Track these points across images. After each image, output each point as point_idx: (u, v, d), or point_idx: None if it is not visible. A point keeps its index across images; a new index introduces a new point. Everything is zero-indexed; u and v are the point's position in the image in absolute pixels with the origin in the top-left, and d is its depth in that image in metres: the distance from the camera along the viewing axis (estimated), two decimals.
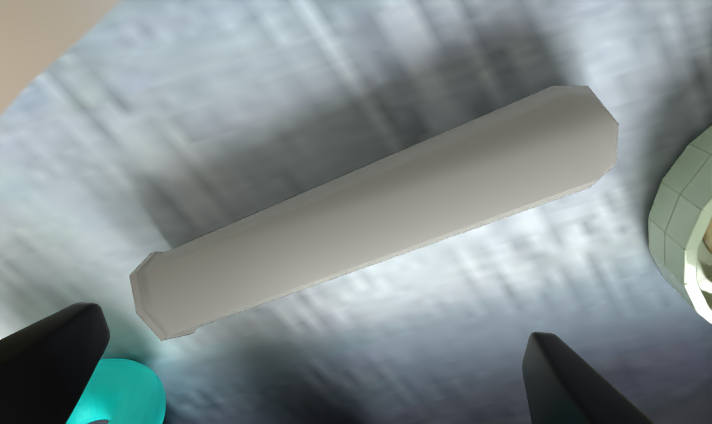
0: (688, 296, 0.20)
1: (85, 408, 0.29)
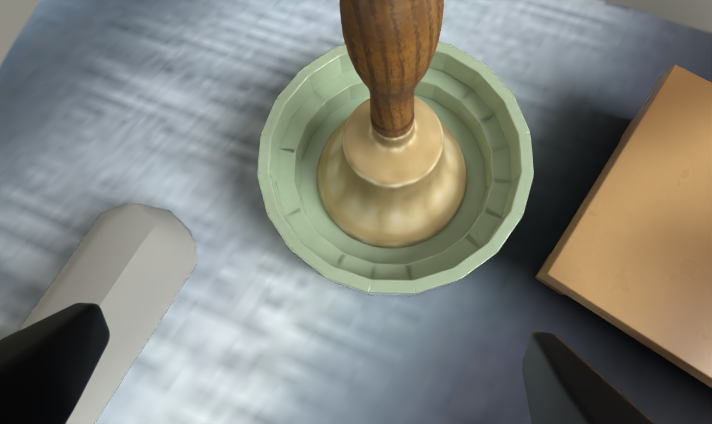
0: (344, 283, 0.19)
1: None
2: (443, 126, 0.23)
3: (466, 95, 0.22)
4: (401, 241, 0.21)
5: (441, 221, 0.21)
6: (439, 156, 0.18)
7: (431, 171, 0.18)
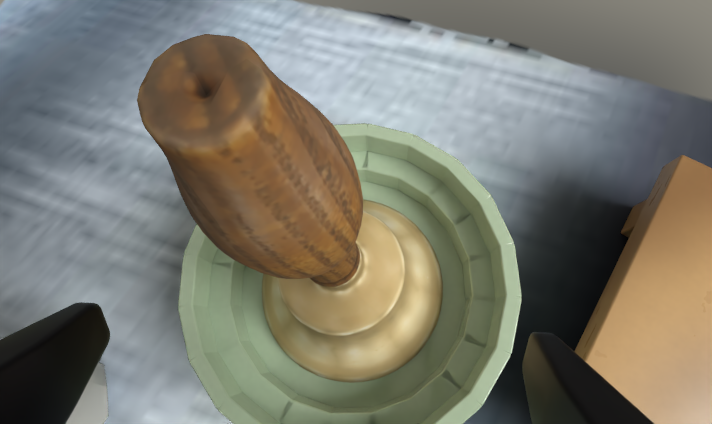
0: None
1: None
2: (411, 226, 0.19)
3: (436, 189, 0.19)
4: (365, 376, 0.17)
5: (412, 348, 0.17)
6: (400, 291, 0.14)
7: (390, 311, 0.14)
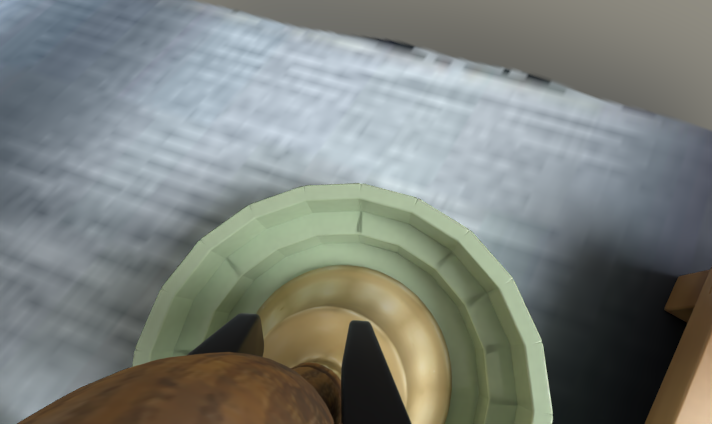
0: None
1: None
2: (413, 302, 0.16)
3: (444, 261, 0.15)
4: None
5: None
6: None
7: None
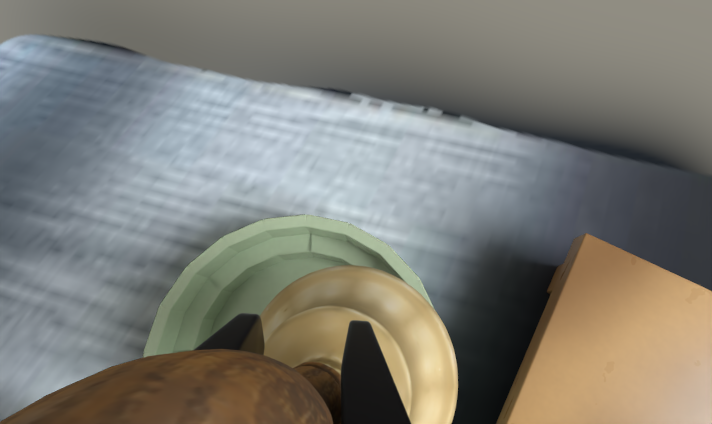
0: None
1: None
2: (417, 300, 0.16)
3: None
4: None
5: None
6: None
7: None
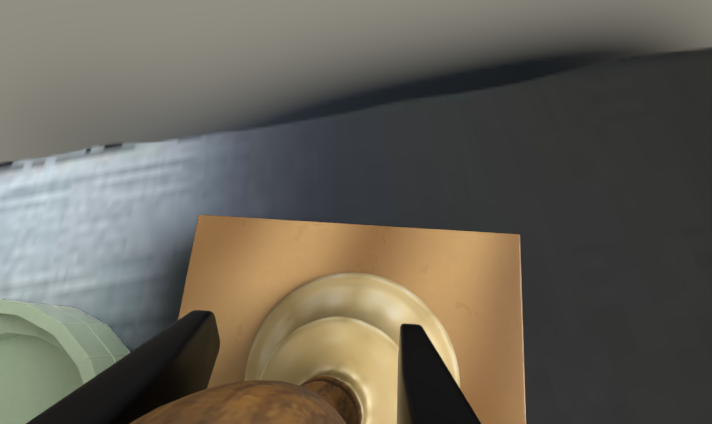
0: None
1: None
2: (419, 307, 0.16)
3: None
4: None
5: None
6: None
7: None
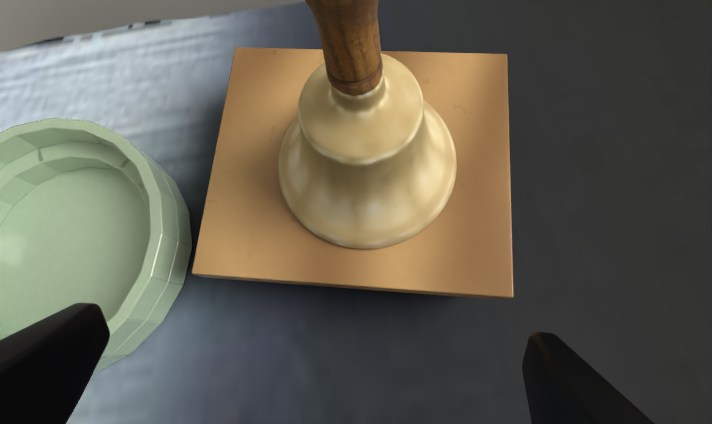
0: None
1: None
2: None
3: (100, 151, 0.23)
4: (384, 239, 0.18)
5: (429, 211, 0.18)
6: (419, 122, 0.14)
7: (411, 141, 0.14)
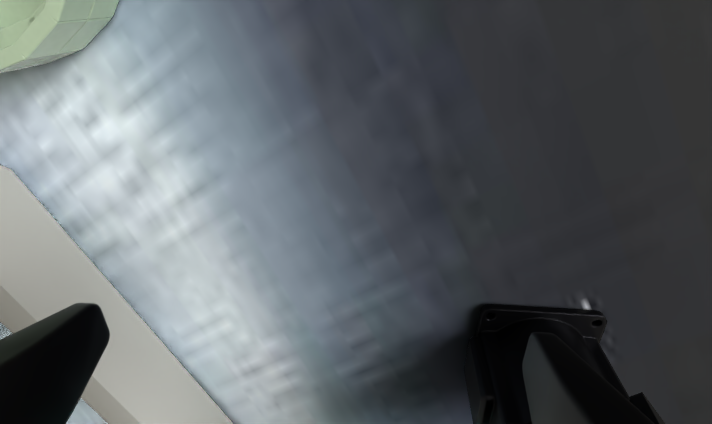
0: (41, 43, 0.15)
1: None
2: None
3: None
4: None
5: None
6: None
7: None
